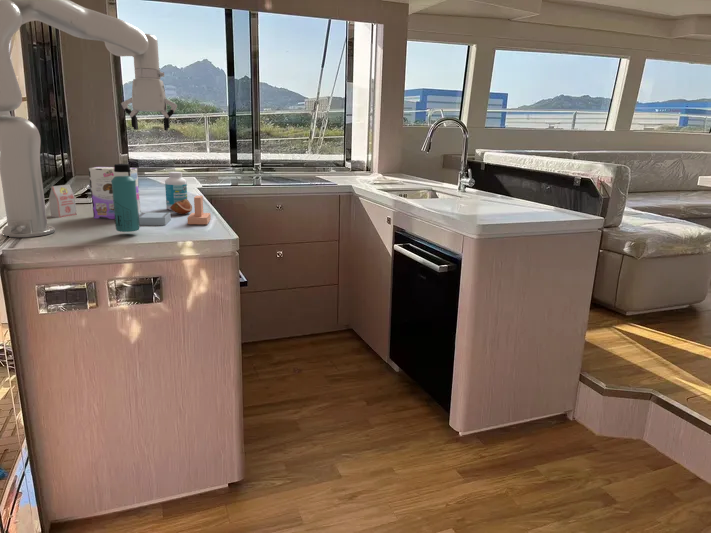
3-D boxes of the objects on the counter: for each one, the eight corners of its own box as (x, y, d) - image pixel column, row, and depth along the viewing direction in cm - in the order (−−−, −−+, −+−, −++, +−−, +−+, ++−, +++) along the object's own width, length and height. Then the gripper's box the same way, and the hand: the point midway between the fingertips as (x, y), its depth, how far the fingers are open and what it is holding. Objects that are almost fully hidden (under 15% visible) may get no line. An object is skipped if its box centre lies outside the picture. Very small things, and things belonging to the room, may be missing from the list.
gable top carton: (51, 216, 176) (47, 186, 173) (68, 213, 182) (65, 184, 179) (59, 217, 174) (55, 186, 172) (76, 214, 180) (73, 184, 178)
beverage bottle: (145, 233, 155) (140, 163, 150) (131, 238, 149) (125, 165, 144) (125, 231, 156) (119, 162, 151) (110, 236, 150) (103, 164, 145)
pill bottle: (175, 211, 191) (173, 173, 188) (162, 209, 195) (159, 172, 192) (192, 209, 198) (190, 172, 194) (178, 207, 201) (176, 170, 198)
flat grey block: (165, 225, 168) (164, 217, 167) (128, 225, 166) (127, 217, 165) (170, 219, 176) (170, 212, 175) (135, 219, 175) (135, 212, 174)
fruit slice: (184, 216, 183) (183, 202, 182) (166, 215, 184) (165, 201, 183) (195, 212, 191) (195, 198, 189) (178, 211, 192) (177, 197, 191)
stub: (207, 224, 169) (206, 198, 167) (187, 224, 168) (186, 198, 166) (210, 219, 178) (209, 194, 176) (191, 219, 177) (190, 194, 175)
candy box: (142, 217, 179) (138, 167, 175) (133, 220, 173) (129, 169, 169) (102, 215, 180) (98, 166, 176) (92, 218, 175) (87, 167, 170)
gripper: (177, 77, 178) (180, 130, 183) (122, 75, 176) (126, 129, 180) (173, 75, 171) (176, 131, 175) (115, 73, 168) (120, 129, 173)
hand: (151, 130), depth 178 cm, fingers open, 9 cm apart
